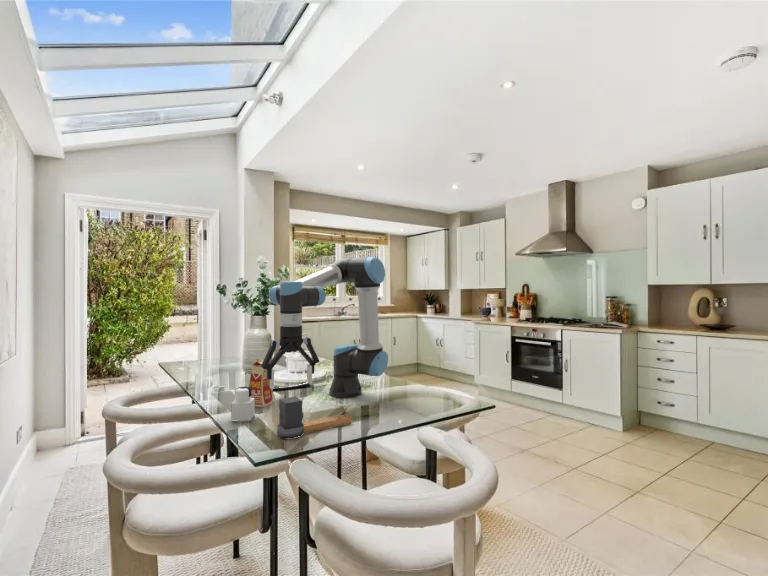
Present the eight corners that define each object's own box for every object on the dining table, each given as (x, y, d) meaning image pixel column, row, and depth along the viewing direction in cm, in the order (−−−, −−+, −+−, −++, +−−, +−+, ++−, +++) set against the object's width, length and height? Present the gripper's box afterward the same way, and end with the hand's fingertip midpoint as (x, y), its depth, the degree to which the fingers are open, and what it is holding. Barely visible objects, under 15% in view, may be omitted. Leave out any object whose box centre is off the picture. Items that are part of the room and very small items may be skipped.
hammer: (343, 418, 158) (343, 398, 158) (354, 425, 150) (354, 404, 150) (273, 432, 143) (273, 409, 143) (282, 441, 135) (282, 417, 135)
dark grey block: (295, 421, 146) (295, 396, 146) (301, 426, 141) (302, 400, 141) (279, 424, 142) (279, 399, 142) (285, 429, 137) (285, 403, 137)
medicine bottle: (236, 415, 160) (236, 385, 160) (254, 415, 161) (254, 385, 161) (230, 421, 153) (231, 390, 153) (250, 421, 154) (250, 390, 154)
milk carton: (264, 407, 171) (264, 360, 171) (244, 405, 173) (244, 359, 173) (274, 401, 180) (274, 356, 180) (255, 399, 182) (255, 355, 182)
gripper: (258, 328, 131) (258, 393, 131) (328, 324, 145) (328, 383, 145) (251, 326, 137) (252, 388, 138) (319, 322, 151) (319, 378, 151)
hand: (291, 385), depth 141 cm, fingers open, 13 cm apart
